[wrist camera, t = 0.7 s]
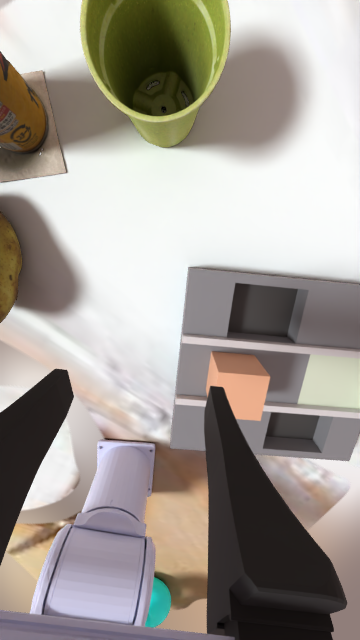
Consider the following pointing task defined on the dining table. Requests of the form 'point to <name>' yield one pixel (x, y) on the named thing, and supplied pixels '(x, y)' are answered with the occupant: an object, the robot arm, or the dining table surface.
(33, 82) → the condiment
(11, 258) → the potato
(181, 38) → the plant pot
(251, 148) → the dining table surface
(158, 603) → the donuts
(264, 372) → the terracotta block
